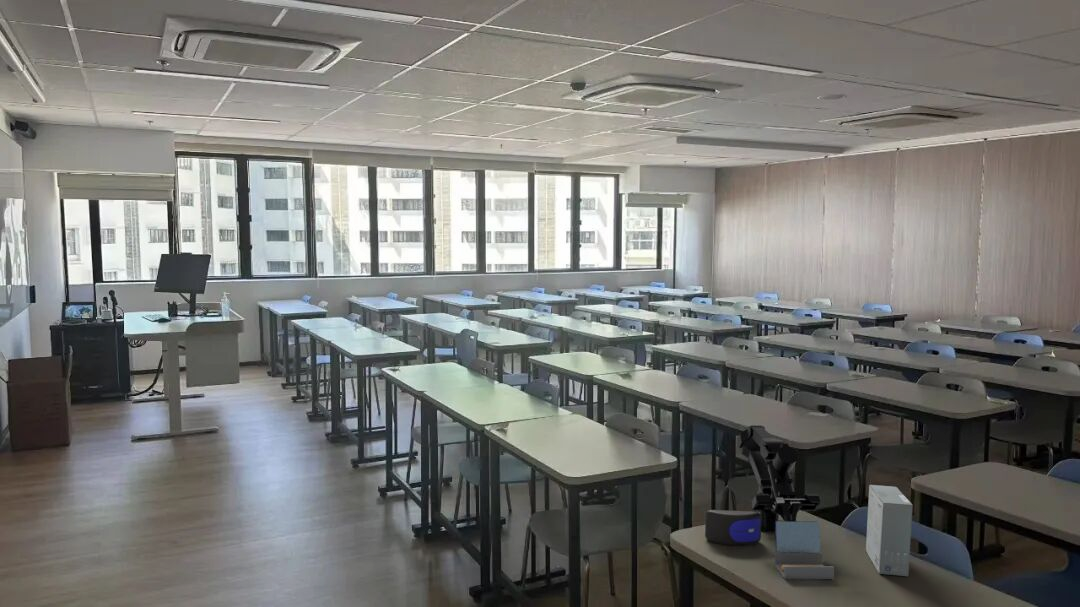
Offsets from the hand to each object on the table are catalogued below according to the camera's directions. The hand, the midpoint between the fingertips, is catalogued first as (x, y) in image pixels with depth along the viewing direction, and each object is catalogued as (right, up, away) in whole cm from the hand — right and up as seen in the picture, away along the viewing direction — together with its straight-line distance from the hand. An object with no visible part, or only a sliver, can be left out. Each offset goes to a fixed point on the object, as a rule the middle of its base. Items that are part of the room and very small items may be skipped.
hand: (792, 530), depth 201 cm
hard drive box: (+25, -8, -3) cm, 27 cm away
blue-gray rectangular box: (0, 0, -4) cm, 4 cm away
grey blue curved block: (-14, -7, +11) cm, 19 cm away
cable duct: (0, -9, -8) cm, 12 cm away
